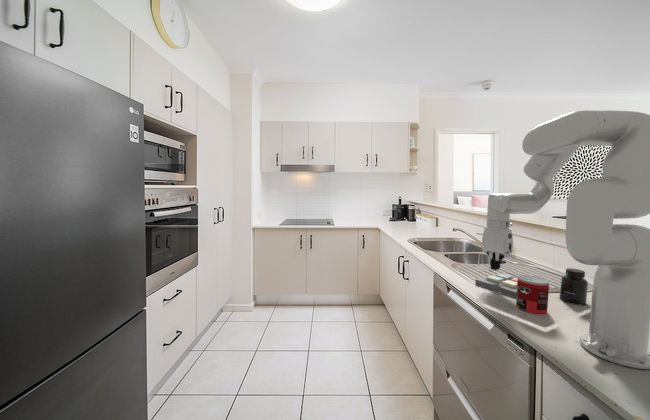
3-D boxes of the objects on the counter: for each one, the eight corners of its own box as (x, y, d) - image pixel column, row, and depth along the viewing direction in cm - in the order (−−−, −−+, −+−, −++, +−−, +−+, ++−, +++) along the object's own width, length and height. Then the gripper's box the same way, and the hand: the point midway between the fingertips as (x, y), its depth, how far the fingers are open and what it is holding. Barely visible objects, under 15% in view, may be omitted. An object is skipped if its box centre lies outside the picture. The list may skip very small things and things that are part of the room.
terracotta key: (522, 287, 100) (522, 282, 100) (510, 284, 104) (510, 279, 104) (528, 285, 102) (529, 280, 102) (516, 282, 106) (517, 277, 106)
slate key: (506, 282, 106) (506, 277, 106) (495, 279, 110) (495, 274, 109) (512, 281, 108) (512, 276, 107) (501, 277, 111) (501, 273, 111)
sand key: (513, 290, 98) (513, 285, 98) (501, 286, 102) (501, 281, 101) (520, 288, 100) (520, 283, 99) (508, 284, 103) (508, 279, 103)
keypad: (514, 300, 94) (515, 292, 94) (475, 286, 108) (475, 279, 108) (540, 292, 102) (540, 284, 102) (500, 280, 115) (500, 273, 115)
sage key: (497, 285, 103) (497, 280, 103) (486, 281, 107) (486, 276, 107) (503, 283, 105) (503, 278, 105) (492, 280, 109) (493, 275, 109)
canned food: (514, 304, 91) (516, 273, 90) (543, 309, 87) (546, 277, 86) (517, 313, 84) (519, 280, 83) (549, 319, 80) (552, 285, 79)
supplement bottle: (562, 305, 90) (565, 271, 89) (556, 298, 96) (558, 266, 95) (589, 309, 87) (592, 274, 86) (581, 301, 93) (584, 268, 92)
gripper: (524, 226, 99) (520, 273, 101) (485, 221, 112) (482, 263, 114) (512, 227, 96) (509, 276, 97) (473, 222, 109) (471, 265, 111)
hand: (495, 269), depth 106 cm, fingers closed
